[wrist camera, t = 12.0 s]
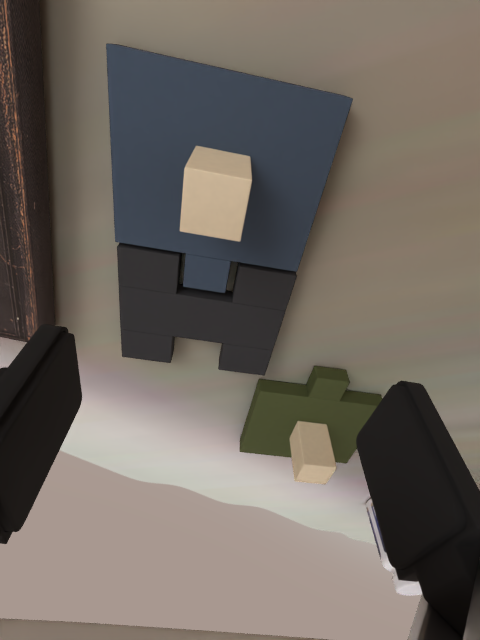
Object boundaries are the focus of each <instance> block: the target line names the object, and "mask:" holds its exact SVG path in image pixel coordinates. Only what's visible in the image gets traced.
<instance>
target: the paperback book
mask: <svg viewBox="0 0 480 640" xmlns="http://www.w3.org/2000/svg"><path fill="white" fill-rule="evenodd" d="M42 324H48V325H55V315H54V294H53V274H52V253H51V233H50V212H49V192H48V171H47V151H46V130H45V110H44V89H43V68H42V48H41V27H40V7H39V0H0V337H4V338H9V339H14V340H19V341H24V342H28V341H29V340H30V338H31V337H32V336H33V334H34V333H35V332H36V331H37V329H38V328H39V327H40V326H41V325H42Z"/></svg>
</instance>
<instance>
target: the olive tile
mask: <svg viewBox="0 0 480 640" xmlns="http://www.w3.org/2000/svg"><path fill="white" fill-rule="evenodd" d="M349 383H350V381H349V378H348V375H347V372H346V370H341V369H334V368H326V367H319V366H314V368H313V371H312V373H311V375H310V377H309V380H308V382H307V384H306V385H302V384H294V383H286V382H279V381H271V380H263V379H259V381H258V384H257V387H256V390H255V394H254V397H253V400H252V403H251V406H250V409H249V413H248V416H247V419H246V422H245V425H244V428H243V432H242V435H241V438H240V452H246V453H255V454H264V455H274V456H283V457H292V463H293V472H294V480H295V481H297V482H307V483H317V484H326V483H327V481H328V480H329V479H330V477H331V476H332V474H333V473H334V471H335V470H336V468H337V467H336V463H335V462H339V463H347V462H348V460H349V459H350V457H351V456H352V455H353V453H354V452H355V450H356V449H357V445H356V438H357V435H358V433H359V432H360V430H361V429H362V427H363V426H364V425H365V423H366V422H367V420H368V419H369V417H370V416H371V415H372V413H373V412H374V410H375V409H376V408H377V406H378V405H379V403H380V402H381V401H382V397H381V395H378V394H370V393H363V392H355V391H347V390H346V389H347V387H348V385H349Z"/></svg>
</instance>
